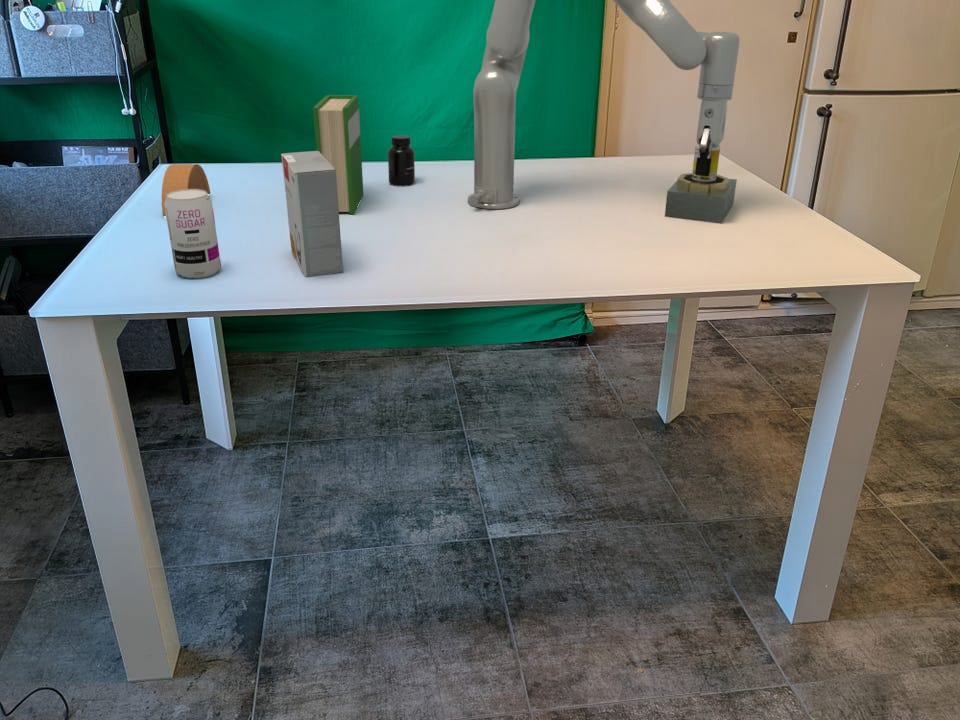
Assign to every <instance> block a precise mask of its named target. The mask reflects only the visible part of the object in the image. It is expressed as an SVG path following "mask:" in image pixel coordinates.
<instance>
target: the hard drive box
mask: <svg viewBox="0 0 960 720" xmlns="http://www.w3.org/2000/svg"><path fill="white" fill-rule="evenodd" d="M280 156H281V163H282V172H283V183H284V192H285V199H286V201H285V202H286V212H287V220H288V221H287V222H288V231H289V240H290V247H291V252H292V254H293V257H294V259H295V260H296V262H297V264H298V266H299V268H300V271H301V272H302V274H303V276H304V277H306V278H308V277H314V276H323V275H334V274H341V273H343V272H344V267H343V254H342V253H343V251H342V239H341V237H342V236H341V225H340V224H341V223H340V214H339V213H340V212H339V209H338V195H337V182H336V170H335V169H334V167H333V166H332V165H331V164H330V163H329V162H328V161H327V160H326V159H325V157H324V156H323V155H322V154H321V153H320V152H319V151H316V150H313V151H312V150H311V151H298V152H287V153H286V152H285V153H281V154H280Z"/></svg>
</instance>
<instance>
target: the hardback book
mask: <svg viewBox="0 0 960 720" xmlns="http://www.w3.org/2000/svg"><path fill="white" fill-rule="evenodd" d="M312 111H313V112H312V113H313V124H314V125H313V126H314V139H315V151H319V152H320V153H321V154H322V155H323V156H324V157H325V159H326V160H327V161H328V162H329V163H330V164H331V165H332V166H333V167H334V169H335V170H336V182H337V195H338V209H339V213H344V212H345V213H349V216H350V215H355V214H356V212H357V210H358V208H357V206H358V204H359V202H360V200H361V198H362V199H363V197H364V195H363V194H364V179H363V176H364V175H363V160H362V143H361V125H360V123H361V122H360V108H359V94H358V95H354V94H353V95H351V94H350V95H345V94H341V95H340V94H339V95H337V94H326V95H325V96H324V97H323V98H322V99H321V100H320V101H319V102H318V103H316V104H315V105H314V106H313V107H312ZM362 196H363V197H362ZM361 201H362V200H361ZM360 203H361V202H360ZM359 205H360V204H359ZM358 207H359V206H358ZM356 209H357V210H356ZM355 211H356V212H355ZM354 213H355V214H354Z"/></svg>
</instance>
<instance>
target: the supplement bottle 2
mask: <svg viewBox="0 0 960 720" xmlns="http://www.w3.org/2000/svg"><path fill="white" fill-rule="evenodd" d="M700 139H701V138H700ZM707 144H711V142H707ZM699 145H700V144H698V143H696V144H695V148H694V155H693V164H692V165H693V167H692V172H691V173H692V179H693V180H695V181H698V182H713V181H715V180H716V176H717V175H718V169H719V159H720V151H721V145H720V144H719V145H718V146H715V144H713V146H712V151H711V157H710V158H712V159H711V166H710V174H709V176H700V175H695V169H696V161H697V157H698V151H699ZM707 148H708V150H709V147H707Z"/></svg>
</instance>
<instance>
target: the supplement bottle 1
mask: <svg viewBox="0 0 960 720" xmlns="http://www.w3.org/2000/svg"><path fill="white" fill-rule="evenodd" d="M390 144H391V147H390V148H388V150H387V162H388V182H389V185H392V184H393V185H392V186H395V185H402V186H401V187H405V186H404V185H408V186H412V185H414V184H415V181H416V179H415V177H416V176H415V174H416V172H415V171H416V170H415V150H414V148H413V147H411V146H410V145H411V137H410V136H408V135H401V134H400V135H393V136H391V143H390ZM413 183H414V184H413ZM411 184H412V185H411Z"/></svg>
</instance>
